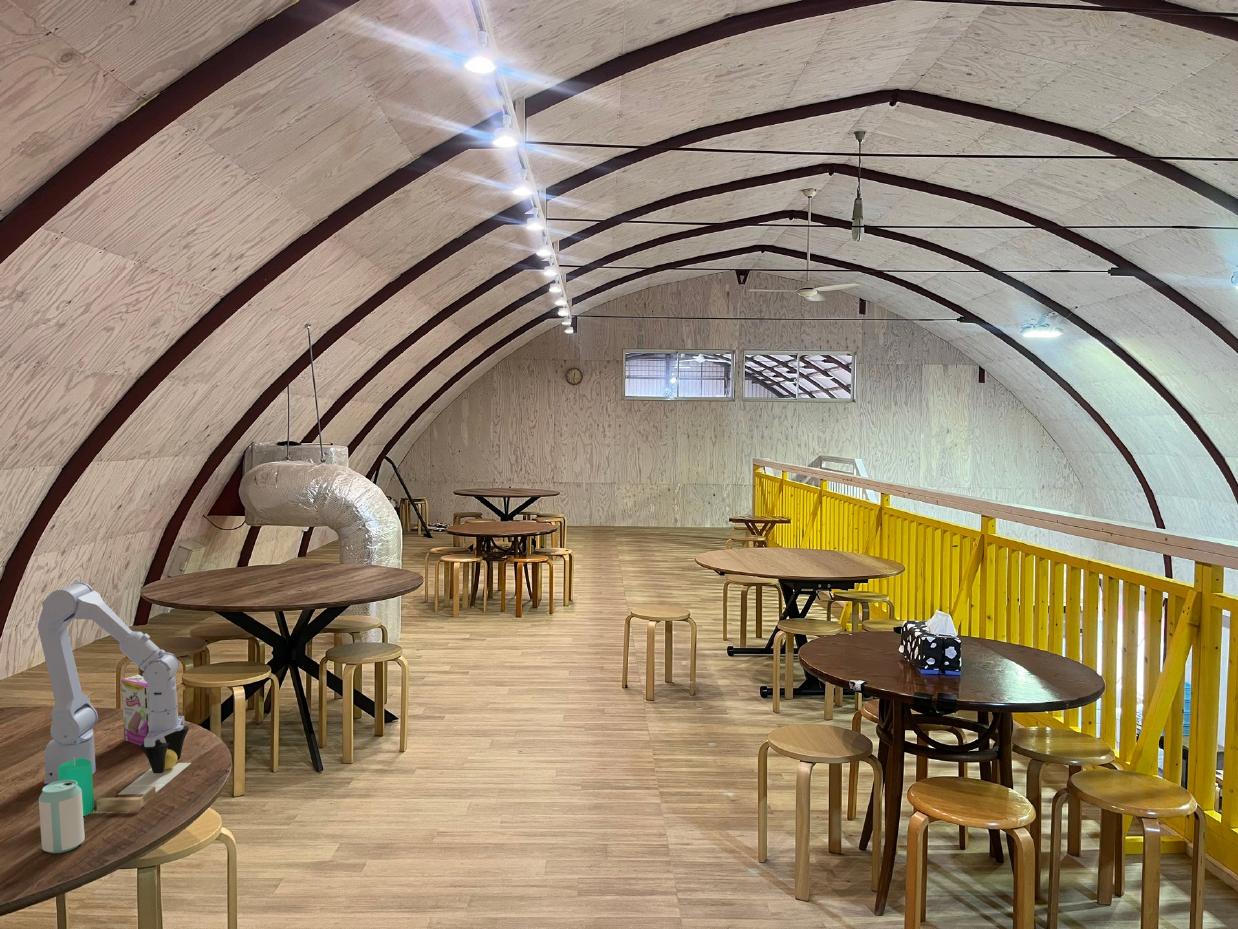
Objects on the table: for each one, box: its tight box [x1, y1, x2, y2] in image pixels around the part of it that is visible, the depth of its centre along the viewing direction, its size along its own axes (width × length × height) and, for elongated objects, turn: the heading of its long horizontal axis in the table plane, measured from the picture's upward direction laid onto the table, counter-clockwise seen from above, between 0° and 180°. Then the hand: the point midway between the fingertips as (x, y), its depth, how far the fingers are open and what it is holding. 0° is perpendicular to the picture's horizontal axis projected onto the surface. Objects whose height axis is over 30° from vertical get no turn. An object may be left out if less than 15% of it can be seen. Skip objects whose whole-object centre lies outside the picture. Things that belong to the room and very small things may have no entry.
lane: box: [116, 762, 192, 796], centre depth 205 cm, size 8×22×1 cm, turn 179°
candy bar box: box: [120, 674, 166, 746], centre depth 231 cm, size 11×5×16 cm, turn 58°
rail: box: [95, 787, 157, 812], centre depth 196 cm, size 9×6×2 cm
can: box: [38, 780, 86, 854], centre depth 178 cm, size 7×7×12 cm
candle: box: [58, 757, 95, 817], centre depth 192 cm, size 6×6×12 cm
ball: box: [164, 748, 178, 770], centre depth 213 cm, size 4×4×4 cm
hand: (166, 766), depth 213 cm, fingers open, 7 cm apart
